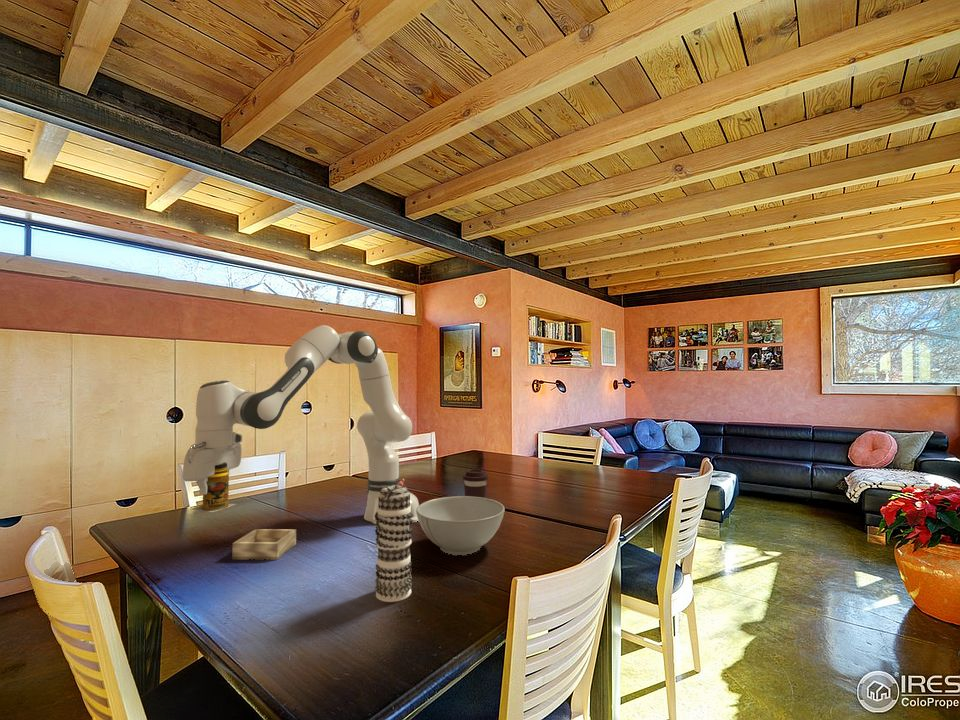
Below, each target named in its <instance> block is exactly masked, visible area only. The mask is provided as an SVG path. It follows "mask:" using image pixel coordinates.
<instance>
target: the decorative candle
mask: <svg viewBox="0 0 960 720" xmlns="http://www.w3.org/2000/svg"><path fill="white" fill-rule="evenodd" d="M411 493H412V492H411V491H409V489H408V488H407V486H405V485H404V486H402V485H390V486H386V487H384V488H382V490H381V491H380V492H379V493H378V494H377V496H379V506H378V512H376V514H375V520H377V521H376V524H374V527H375V530H374V532H375V537H376V538H375V542H376V543H375V547H377V561H376V562H377V563H376V564H375V570H376V571H375V576H376V578H375V597H376V598H377V599H378V600H379V601H381V602H385V603H386V602H387V603H395V602H400V601H405V600H406V599H407V598H409V597H410V596H411V595H412V585H413V584H412V580H413V577H412V574H411V573H412V572H413V571H412V570H413V569H412V565H413V563H412V561H411V545H412V543H413V540H412V538H413V535H412V534H411V533H412V532H413V528H412V527H410V526H411V525H413V523H414V522H413V520H412V519H410V518H411V517H413V513H411V505H410V494H411ZM377 515H378V516H379V517H378V516H377Z"/></svg>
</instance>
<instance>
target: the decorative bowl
mask: <svg viewBox="0 0 960 720" xmlns="http://www.w3.org/2000/svg"><path fill="white" fill-rule="evenodd" d="M505 509H506V508H505V506H504V505H503V504H502V503H501V502H499V501H497V500H495V499H490V498H487V497H486V498H482V497H472V496H465V495H464V496H463V495H460V496H459V495H457V496H456V495H455V496H445V497H439V498H434V499H433V498H432V499H429V500H427V501H424V502H422V503H421V504H420V503H419V506H418V507H417V509H416V513H417V517H418V520H419V521H418V523H419V525H420V527H421V529H422V531H423V532H424V534H425V536H426V537H427V538H428V539H429V540H430V541H431V543H433V544H435V545H436V546H438V547H439V548H440V551H441V550H442V551H443V552H442V551H441V552H442V553H444V552H445V553H444V554H446V553H448V554H447V555H450V554H452V555H451V556H457V555H462V556H468V555H467V554H470V555H473V554H472V553H474V552H476V553H478V552H479V551H481V549H480V548H482V546H485V544H487V543H489V542H490V540H491V539H492V538H493V537H494V536H495V534H496V533H497V531H498V530H499V529H500V526H501V524H502V522H503V519H504V516H505V515H504V514H505V512H506V511H505ZM478 550H479V551H478ZM477 551H478V552H477ZM474 554H475V553H474Z"/></svg>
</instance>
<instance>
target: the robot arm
mask: <svg viewBox="0 0 960 720" xmlns="http://www.w3.org/2000/svg"><path fill="white" fill-rule="evenodd" d="M327 361H330V362H332V363H334V364H339V365H341V364H343V365H344V364H345V365H347V364H348V365H350V364H351V365H352V364H354V365H355V367H357V371H358V377H359V378H358V379H359V383H360V387H361V393H362V399H363V401H364V402H365V404H367V405H368V406H369V408H370V410H371V411H368V412H364V413H363V414H361V415H360V417H359V418H358V421H357V423H356V424H357V425H356V427H357V429H356V430H357V432H358V433H359V435H360V436H361V438H362V440H363V442H364V445H365V449H366V453H367V458H368V459H367V460H368V479H367V482H366V483H367V484H366V491H367V492H366V493H367V500H366V501H367V502H366V506H365V511H364V516H363V519H364V520H365V521H367V522H370V523H372V524H374V525H375V524H376V521H377V520H375V514H376V512H378V506H379V496H377V494H378V493H379V492H380V491H381V490H382V488H384V487H386V486H390V485H402V486H405V478H401V477H400V473H399V471H400V470H399V469H400V463H399V462H400V460H399V459H400V457H399V455H398V453H397V452H396V451H395V449H394V447H393V444H392V443H400V442H405V441H406V440H408V439H409V438H410V436H411V434H412V432H413V422H412V419H410V417H409V416H408V415H406V414H405V412H404V411H403V409H402V408H401V407H400V405H399V402H398V400H397V399H396V396H395V392H394V390H393V385H392V381H391V375H390V369H389V366H388V365H389V364H388V363H387V360H386V356H385V354H384V352H383V350H382V349H381V348H379V347H378V345H377V342H376V340H375V338H374V336H373V335H371V334H370V333H369V332H365V331H361V330H360V331H359V330H358V331H357V330H356V331H346V332H343V333H338V332H337V331H336V330H335V329H334V328H333V327H331V326H329V325H325V324H320V325H318V326H316V327H314V328H312V329H311V330H310V331H308V332H306V333H305V334H303V335H302V336H301V337H299V338H298V339H297V340H296V341H295V342H294V343H292V345H291V346H290V347H289V348H288V349H287V351H286V352H285V353H284V363H285V365H286V367H287V370H286V371H285V372H284V373H283V374H282V375H281V376H280V377H279V378H278V379H277V380H276V381H275V382H274V383H273V384H272V385H271V386H270V387H269V388H267V389H265V390H262V391H259V392H254V391H249V390H246V389H244V388H241V387H239V386H237V385H235V384H233V383H232V382H231V381H229V380H215V381H210V382H206V383H203V384H202V385H201V386H200V387H199V388H198V391H197V395H196V396H197V397H196V401H195V402H196V404H195V416H196V421H197V422H196V426H195V433H194V434H195V435H194V438H195V439H194V441H195V443H194V444H191V445H190V447H189V448H188V450H187V452H186V453H185V456H184V460H183V464H182V479H183V481H184V482H195V483H196V485H197V486H198V489H199V491H198V492H199V495H200V496H203V495H205V494H208V493H209V487H207V483H206V482H207V481H208V477H210V476H213V475H214V472H215V465H219V464H222V463H224V462H225V463H227V472H228V473H229V474H230V470H233V469H236V468H238V467H239V466H240V465H241V463H242V462H241V461H242V444H241V443H242V442H243V435H242V434H240V433H237V432H235V431H233V430H234V425H235V424H239V425H243V426H246V427H247V426H248V427H251V428H254V429H257V430H265V429H269V428H271V427H272V426H274V425H276V424H277V422H278V421H279V420H280V419H281V417H282V415H283V412H284V410H285V408H286V406H287V405H288V403H289V402H290V401H291V399H293V398H294V396H295V395H296V394H297V393H298V392H299V391H300V390H301V388H302V387H303V386H304V385H305V384H306V383H307V382H308V381H309V379H310V378H311V377H312V376H313V375H314V373H316V372H317V370H318V369H319V368H321V367H322V366H323V365H324V364H325V363H326V362H327ZM410 505H411V513H413V517H411V518H410V519H412V520H413V523H418V522H419V520H418V517H417V513H416V509H417V507H418V506H419V505H420V503H419V499H418V498H417V496H416V495H414V494H413V493H412V492H411V494H410ZM377 516H378V515H377ZM378 517H379V516H378ZM417 521H418V522H417Z"/></svg>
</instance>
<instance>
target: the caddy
mask: <svg viewBox="0 0 960 720" xmlns="http://www.w3.org/2000/svg"><path fill="white" fill-rule="evenodd" d="M295 545H297V529H293V528H292V529H291V528H289V529H287V528H286V529H283V528H281V529H280V528H277V529H275V528H274V529H273V528H269V529H268V528H264V529H263V528H255V529H253V530H251V531H249V532H248V533H247V534H245V535H244V536H242V537H240V538H239V539H237V540H235V541H234V542H232V552H231V553H232V555H231V556H232V557H231V558H232V559H231V560H249V559H251V560H253V559H255V561H256V560H258V561H259V560H261V561H262V560H264V559H266V560H265V561H268V560H269V559H270V560H269V561H272V560H273V561H274V560H279V559H280V558H281V557H282V556H284V555H285V554H287V553H288V552H289V551H290V550H291V549H292V548H293V547H294V546H295ZM283 554H284V555H283ZM253 561H254V560H253Z"/></svg>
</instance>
